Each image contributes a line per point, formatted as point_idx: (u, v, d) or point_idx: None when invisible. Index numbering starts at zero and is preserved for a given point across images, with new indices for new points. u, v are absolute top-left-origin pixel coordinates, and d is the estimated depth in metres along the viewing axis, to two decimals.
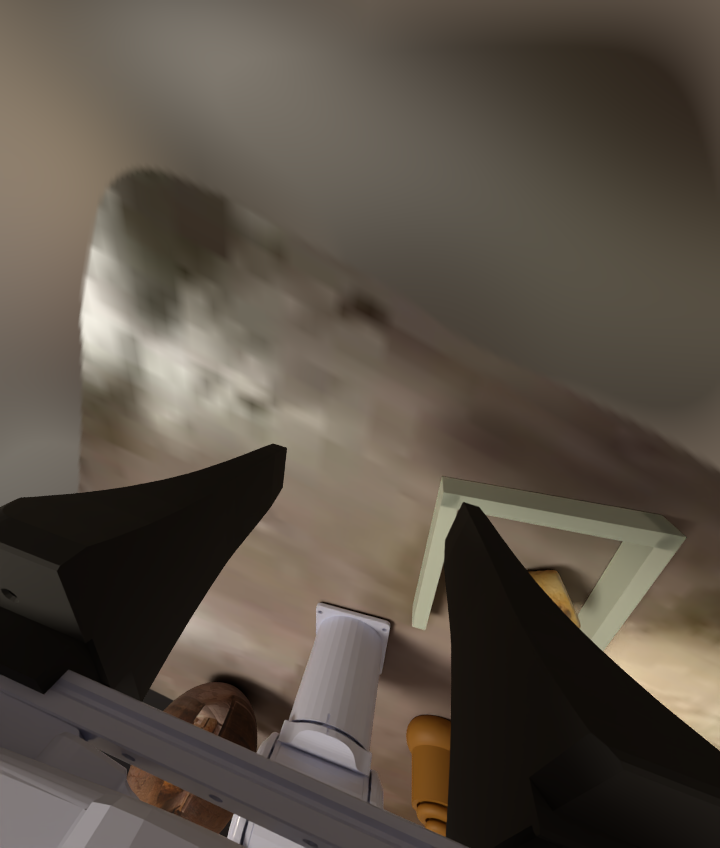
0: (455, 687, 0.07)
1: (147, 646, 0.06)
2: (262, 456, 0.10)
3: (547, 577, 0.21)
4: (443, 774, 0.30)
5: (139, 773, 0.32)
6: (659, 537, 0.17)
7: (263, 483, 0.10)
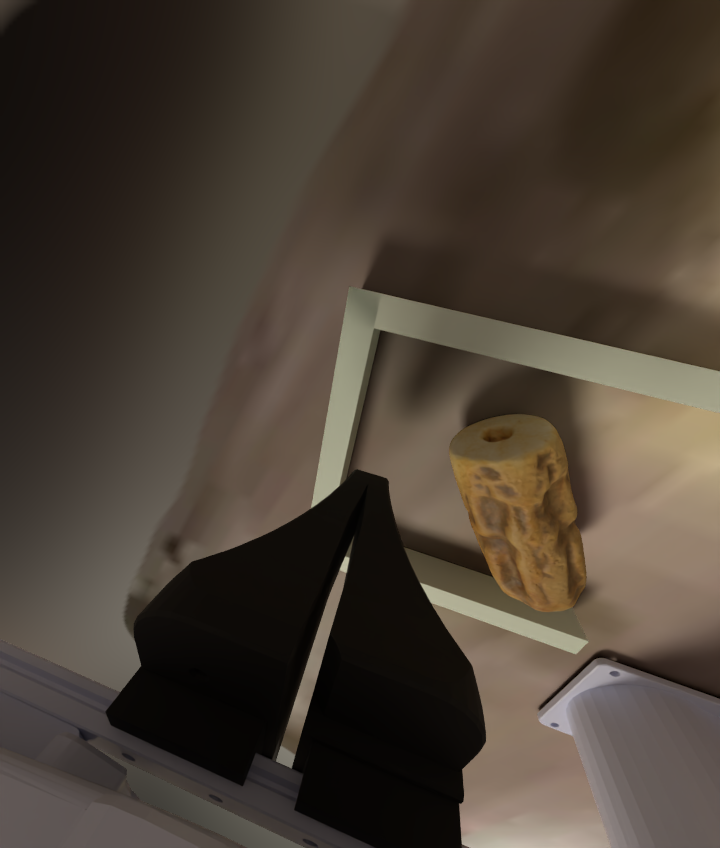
0: None
1: (290, 706, 0.06)
2: (358, 486, 0.09)
3: None
4: None
5: None
6: (354, 323, 0.11)
7: (357, 514, 0.09)
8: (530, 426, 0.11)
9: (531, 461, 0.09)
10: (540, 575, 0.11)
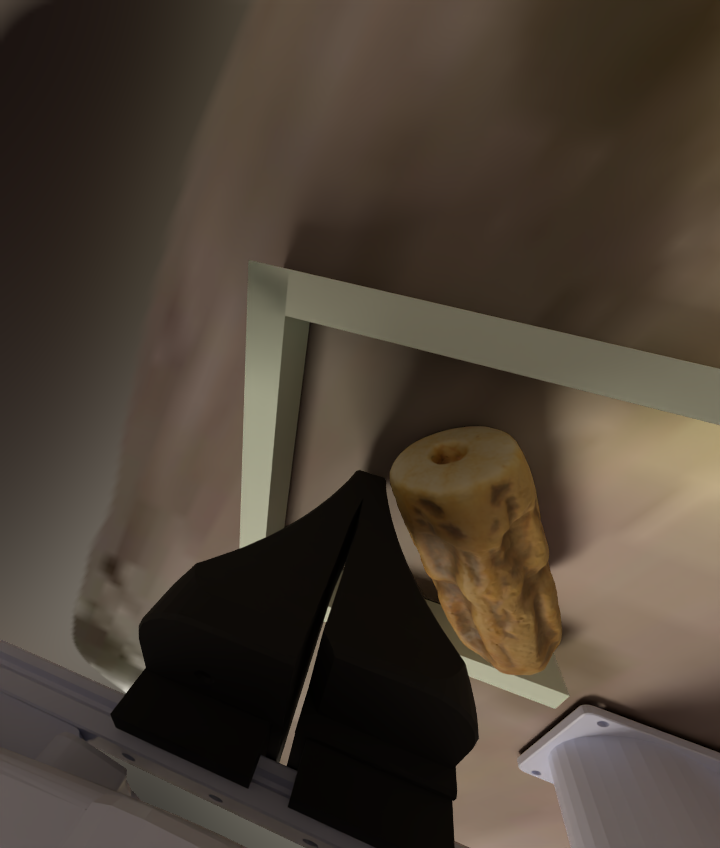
0: None
1: (294, 707, 0.06)
2: (361, 487, 0.09)
3: None
4: None
5: None
6: (261, 309, 0.08)
7: None
8: (488, 444, 0.08)
9: (482, 495, 0.07)
10: (501, 635, 0.09)
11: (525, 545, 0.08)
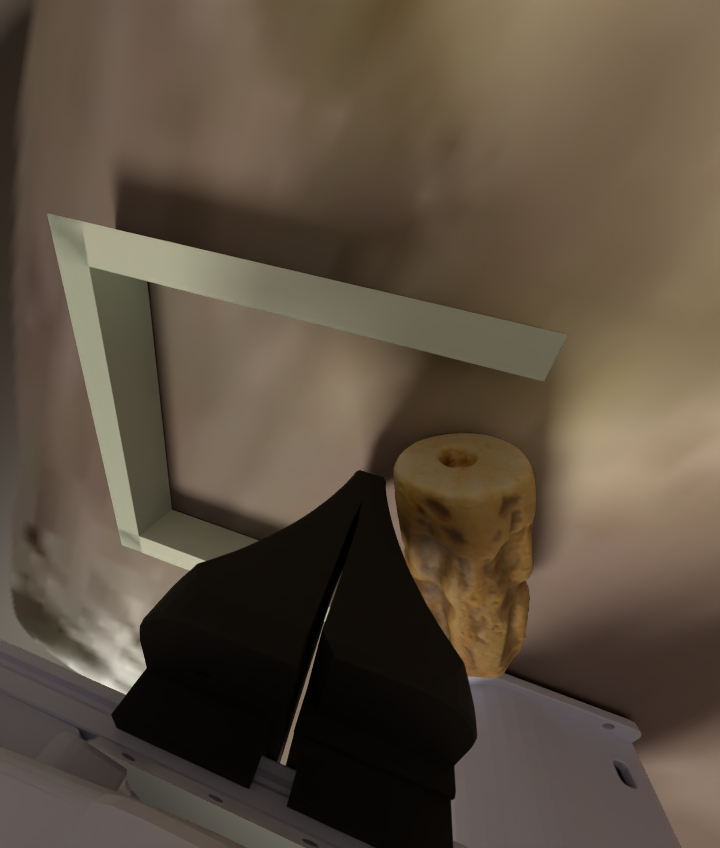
0: None
1: (294, 708, 0.06)
2: (361, 487, 0.09)
3: None
4: None
5: None
6: (70, 261, 0.09)
7: None
8: (500, 455, 0.08)
9: (492, 504, 0.07)
10: (473, 639, 0.09)
11: (514, 557, 0.08)
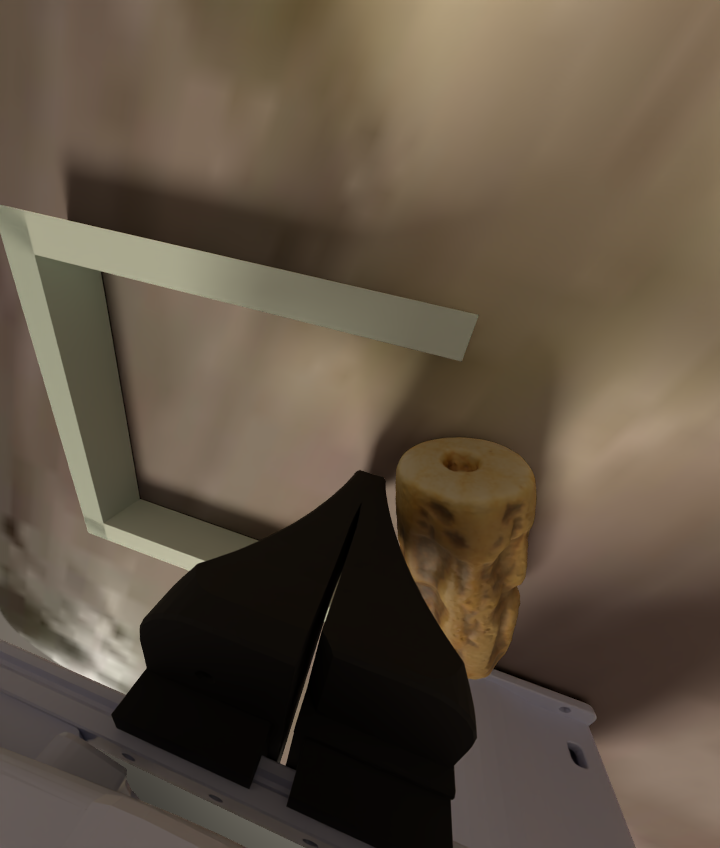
0: None
1: (294, 708, 0.06)
2: (361, 487, 0.09)
3: None
4: None
5: None
6: (17, 249, 0.09)
7: None
8: (503, 462, 0.08)
9: (497, 510, 0.07)
10: (463, 641, 0.09)
11: (509, 563, 0.09)
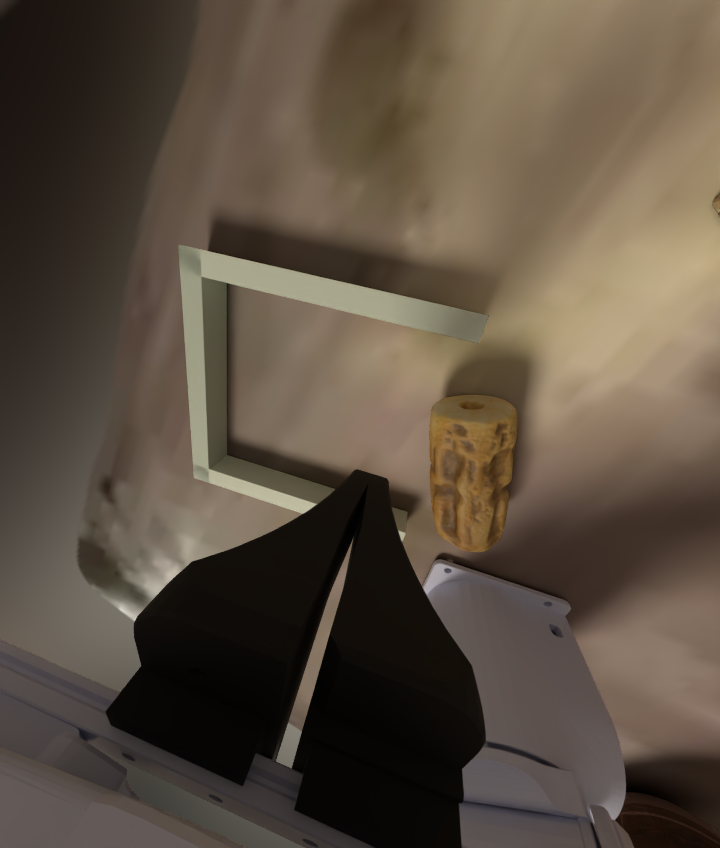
0: None
1: (290, 706, 0.06)
2: (358, 486, 0.09)
3: None
4: None
5: None
6: (188, 273, 0.14)
7: (357, 514, 0.09)
8: (498, 404, 0.13)
9: (492, 426, 0.12)
10: (472, 519, 0.14)
11: (501, 468, 0.14)
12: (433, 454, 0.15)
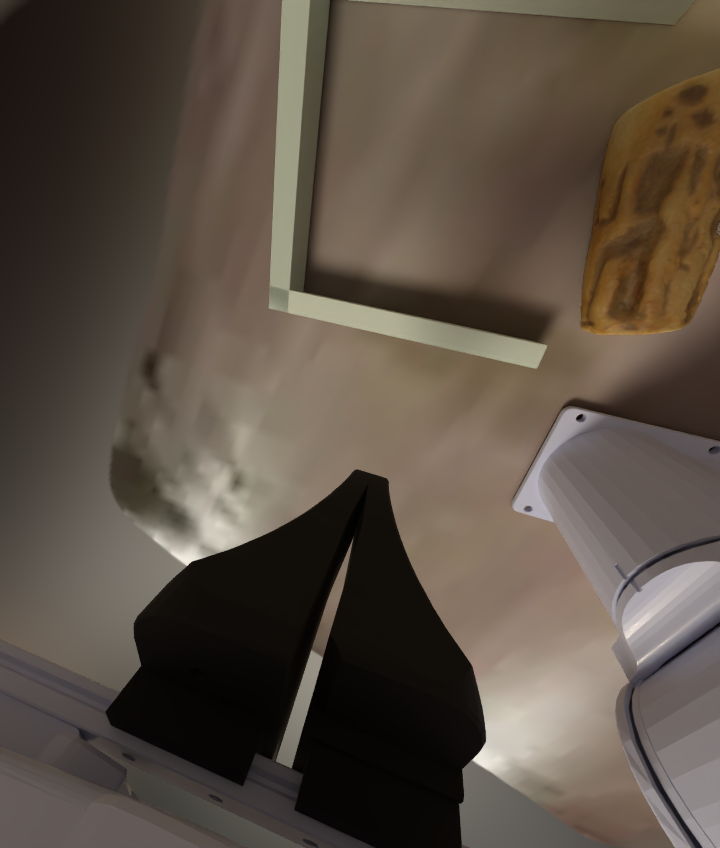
0: None
1: (290, 706, 0.06)
2: (358, 486, 0.09)
3: (609, 144, 0.11)
4: None
5: None
6: None
7: (357, 514, 0.09)
8: None
9: None
10: (676, 266, 0.11)
11: None
12: (617, 187, 0.11)
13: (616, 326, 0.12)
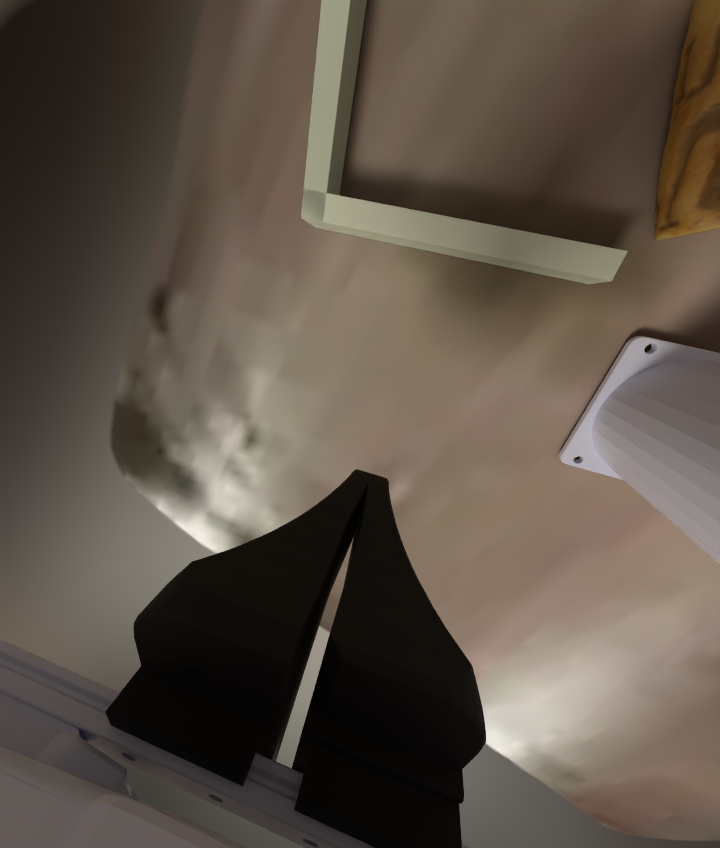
0: None
1: (290, 706, 0.06)
2: (358, 486, 0.09)
3: None
4: None
5: None
6: None
7: (357, 514, 0.09)
8: None
9: None
10: None
11: None
12: (714, 41, 0.09)
13: (709, 218, 0.11)
